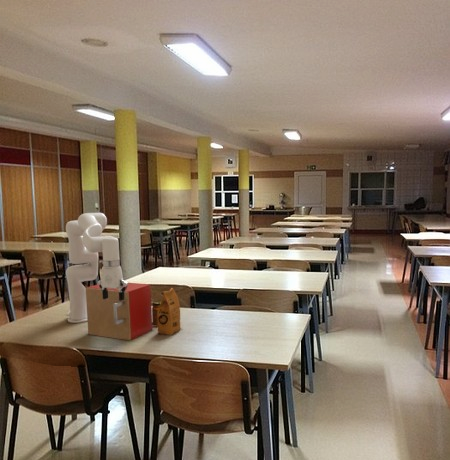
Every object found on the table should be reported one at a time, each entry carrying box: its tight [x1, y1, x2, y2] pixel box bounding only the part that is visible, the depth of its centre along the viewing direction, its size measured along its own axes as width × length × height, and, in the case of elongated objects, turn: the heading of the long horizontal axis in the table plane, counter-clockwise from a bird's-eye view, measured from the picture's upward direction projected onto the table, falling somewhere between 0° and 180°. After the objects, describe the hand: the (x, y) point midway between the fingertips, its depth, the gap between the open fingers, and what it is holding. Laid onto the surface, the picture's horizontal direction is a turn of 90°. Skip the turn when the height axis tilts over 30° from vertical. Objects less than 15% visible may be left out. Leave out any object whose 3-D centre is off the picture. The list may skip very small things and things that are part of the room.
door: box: [85, 287, 131, 341], centre depth 240 cm, size 8×26×24 cm, turn 64°
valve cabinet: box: [86, 281, 153, 341], centre depth 252 cm, size 18×26×24 cm
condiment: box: [151, 301, 162, 328], centre depth 266 cm, size 7×8×12 cm
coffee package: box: [157, 287, 182, 336], centre depth 251 cm, size 10×12×22 cm
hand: (113, 299), depth 231 cm, fingers open, 9 cm apart
